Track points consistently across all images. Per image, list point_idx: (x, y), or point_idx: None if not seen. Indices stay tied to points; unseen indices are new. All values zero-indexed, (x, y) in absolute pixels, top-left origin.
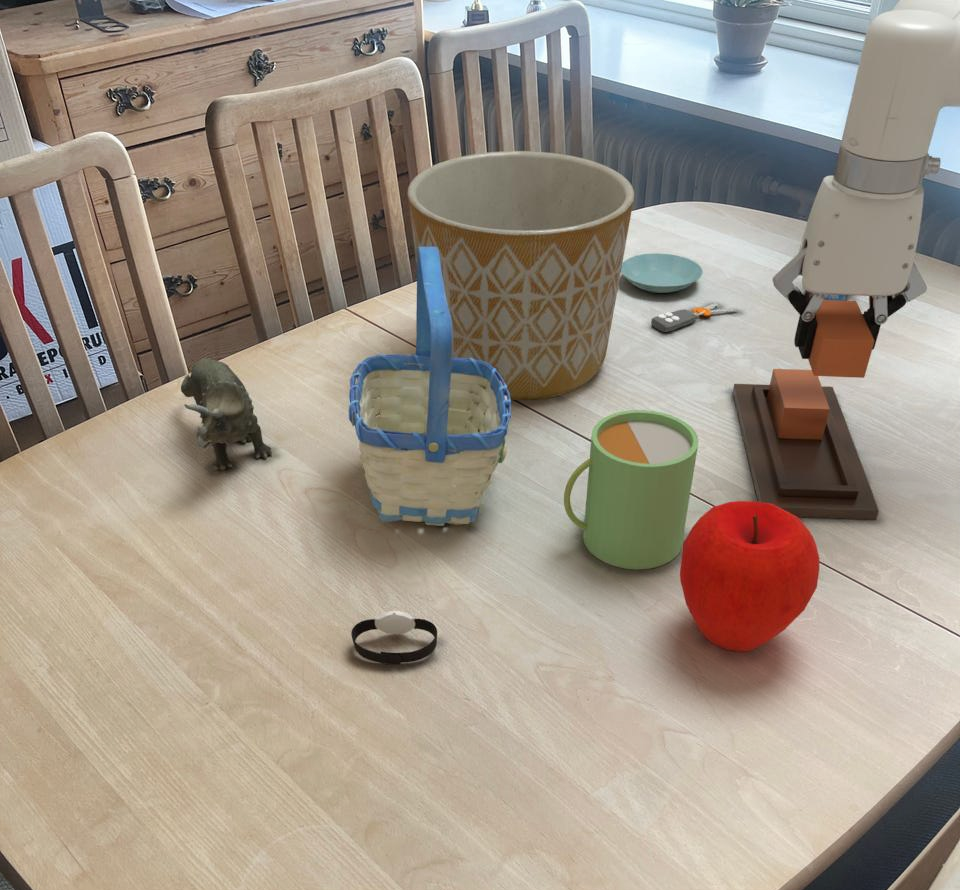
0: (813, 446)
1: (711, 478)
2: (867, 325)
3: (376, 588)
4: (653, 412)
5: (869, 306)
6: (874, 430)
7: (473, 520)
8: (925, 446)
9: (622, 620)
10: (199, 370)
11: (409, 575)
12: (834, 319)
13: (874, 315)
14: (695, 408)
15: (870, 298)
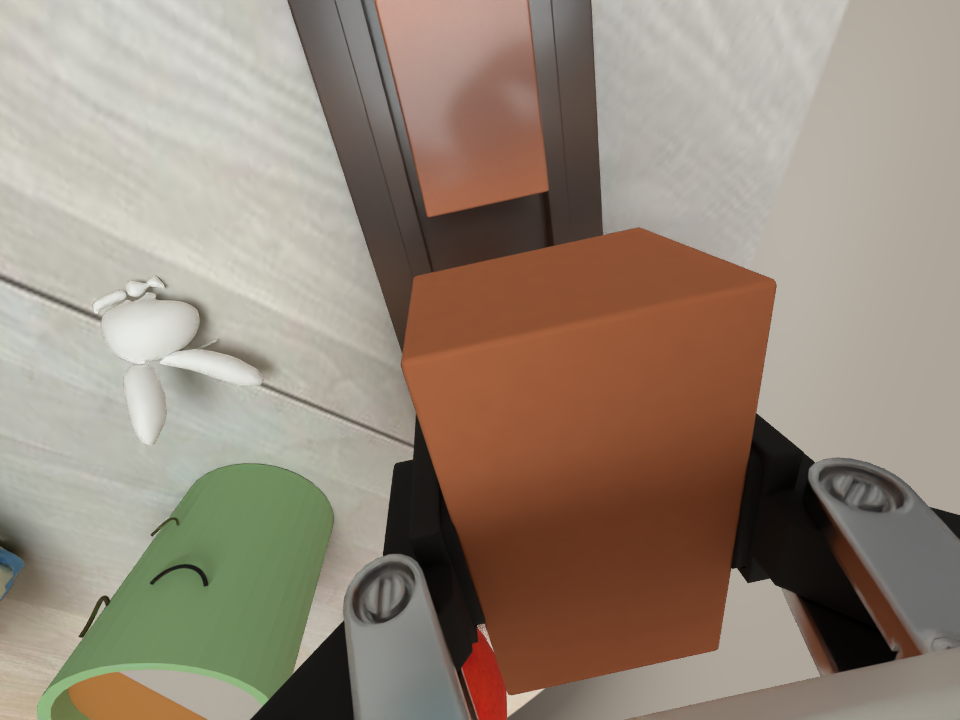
0: (509, 218)
1: (325, 349)
2: (732, 563)
3: (21, 655)
4: (128, 668)
5: (819, 511)
6: (663, 40)
7: (23, 567)
8: (763, 96)
9: (309, 618)
10: None
11: (37, 634)
12: (573, 563)
13: (796, 611)
14: (183, 38)
15: (860, 592)
